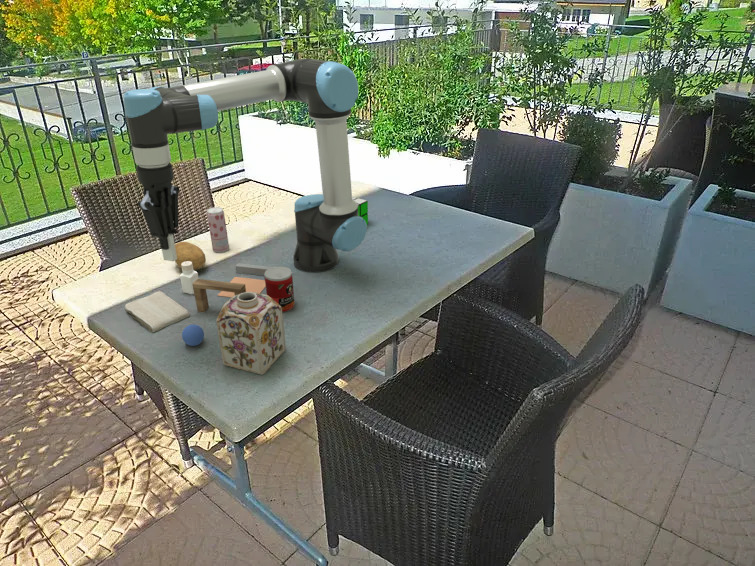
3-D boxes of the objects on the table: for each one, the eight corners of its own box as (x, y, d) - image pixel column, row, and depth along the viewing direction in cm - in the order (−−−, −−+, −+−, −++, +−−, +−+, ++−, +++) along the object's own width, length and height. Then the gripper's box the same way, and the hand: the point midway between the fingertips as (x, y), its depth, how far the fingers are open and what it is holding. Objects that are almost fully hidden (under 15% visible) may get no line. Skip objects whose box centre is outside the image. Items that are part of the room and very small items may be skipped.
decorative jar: (222, 365, 133) (211, 303, 124) (248, 340, 143) (239, 280, 134) (264, 376, 130) (255, 313, 121) (288, 349, 139) (282, 289, 130)
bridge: (202, 306, 158) (197, 278, 153) (248, 312, 155) (245, 284, 150) (197, 311, 155) (192, 283, 151) (244, 317, 152) (240, 289, 148)
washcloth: (160, 296, 164) (158, 287, 162) (192, 317, 153) (190, 308, 152) (122, 311, 156) (119, 302, 155) (153, 335, 146) (151, 325, 144)
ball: (209, 339, 143) (206, 321, 140) (199, 351, 138) (195, 333, 136) (190, 336, 144) (187, 319, 141) (179, 348, 139) (175, 330, 137)
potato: (187, 280, 172) (183, 257, 168) (168, 265, 181) (163, 243, 177) (215, 270, 177) (212, 248, 174) (195, 256, 186) (191, 235, 182)
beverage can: (217, 254, 188) (211, 214, 180) (210, 249, 191) (203, 209, 184) (232, 249, 191) (226, 210, 184) (224, 244, 195) (218, 205, 187)
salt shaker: (193, 295, 163) (187, 267, 159) (182, 293, 164) (176, 265, 160) (201, 289, 167) (196, 261, 162) (190, 286, 168) (185, 259, 163)
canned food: (283, 315, 153) (279, 281, 148) (262, 307, 157) (258, 274, 152) (300, 303, 159) (297, 270, 154) (279, 296, 163) (276, 263, 157)
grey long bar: (279, 274, 175) (278, 267, 174) (276, 277, 173) (275, 270, 172) (239, 269, 178) (238, 263, 176) (236, 272, 176) (235, 265, 175)
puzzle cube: (348, 219, 216) (347, 195, 211) (368, 224, 211) (368, 200, 206) (332, 227, 209) (331, 202, 204) (352, 233, 204) (352, 208, 199)
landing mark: (270, 281, 171) (270, 280, 171) (254, 300, 161) (254, 299, 160) (235, 277, 173) (234, 276, 173) (217, 295, 163) (217, 295, 163)
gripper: (156, 155, 126) (172, 247, 137) (119, 170, 115) (140, 269, 126) (184, 157, 125) (198, 250, 136) (150, 173, 114) (168, 273, 125)
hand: (170, 259), depth 131 cm, fingers closed
